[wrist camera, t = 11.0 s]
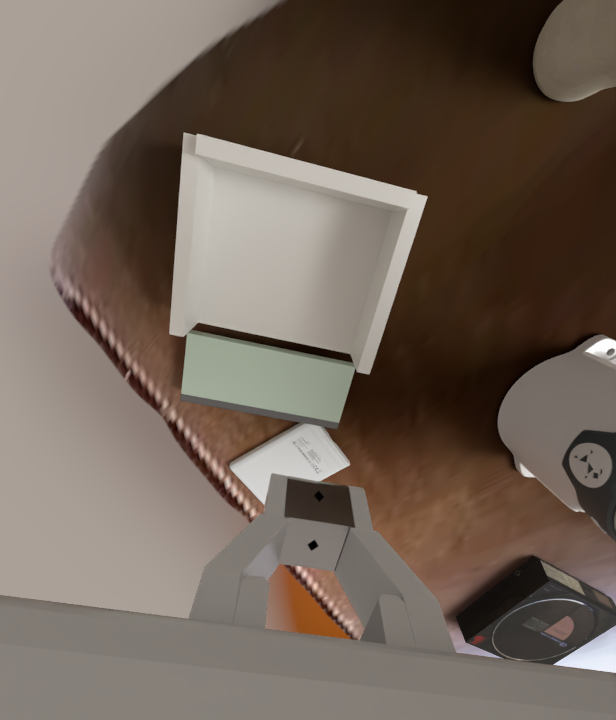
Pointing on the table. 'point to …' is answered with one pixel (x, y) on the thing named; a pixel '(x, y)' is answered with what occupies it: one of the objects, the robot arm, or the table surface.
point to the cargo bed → (288, 248)
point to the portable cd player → (537, 615)
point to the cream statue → (577, 50)
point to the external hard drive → (290, 458)
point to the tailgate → (264, 380)
